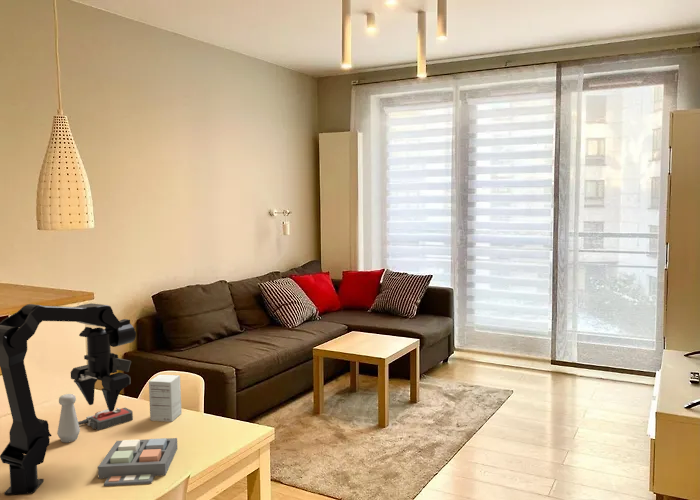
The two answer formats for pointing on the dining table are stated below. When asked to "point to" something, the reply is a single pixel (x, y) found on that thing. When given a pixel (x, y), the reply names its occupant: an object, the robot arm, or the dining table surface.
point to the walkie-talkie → (108, 418)
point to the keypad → (136, 466)
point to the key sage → (122, 457)
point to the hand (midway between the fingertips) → (101, 407)
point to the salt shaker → (68, 419)
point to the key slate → (157, 444)
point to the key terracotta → (150, 455)
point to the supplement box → (165, 398)
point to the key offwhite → (129, 445)
